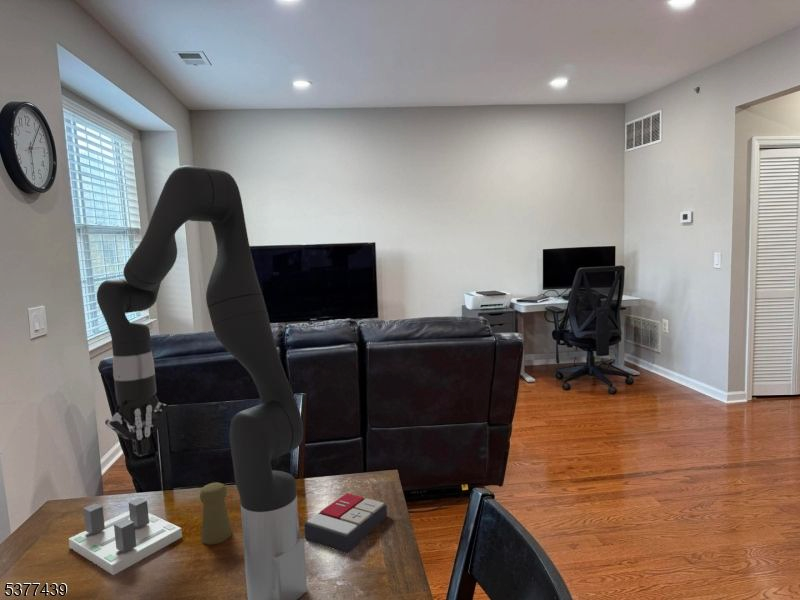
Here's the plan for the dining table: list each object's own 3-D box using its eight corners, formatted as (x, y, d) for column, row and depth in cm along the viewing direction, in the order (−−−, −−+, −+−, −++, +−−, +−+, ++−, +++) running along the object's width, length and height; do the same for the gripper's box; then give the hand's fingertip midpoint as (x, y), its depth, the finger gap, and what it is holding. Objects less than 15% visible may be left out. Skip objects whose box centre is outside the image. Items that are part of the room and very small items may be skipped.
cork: (221, 545, 100) (217, 493, 99) (194, 543, 101) (190, 491, 100) (237, 528, 106) (233, 479, 105) (211, 526, 107) (207, 477, 106)
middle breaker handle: (149, 523, 105) (147, 500, 104) (137, 528, 103) (135, 505, 102) (141, 519, 106) (139, 497, 106) (130, 524, 105) (128, 502, 104)
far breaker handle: (104, 529, 103) (102, 506, 103) (92, 535, 101) (90, 511, 101) (98, 525, 105) (95, 502, 104) (85, 531, 103) (83, 508, 102)
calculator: (387, 501, 109) (347, 533, 96) (387, 520, 109) (347, 554, 96) (346, 490, 114) (303, 519, 101) (346, 508, 114) (303, 540, 101)
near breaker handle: (136, 546, 97) (134, 522, 96) (124, 553, 95) (121, 528, 94) (128, 542, 98) (126, 518, 98) (116, 548, 96) (113, 524, 96)
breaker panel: (182, 537, 104) (181, 527, 103) (113, 575, 92) (112, 564, 92) (137, 515, 113) (136, 506, 113) (69, 547, 101) (68, 538, 101)
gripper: (112, 384, 95) (121, 471, 97) (174, 368, 107) (181, 446, 108) (91, 380, 99) (100, 463, 101) (153, 365, 111) (160, 440, 112)
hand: (142, 454), depth 105 cm, fingers closed
